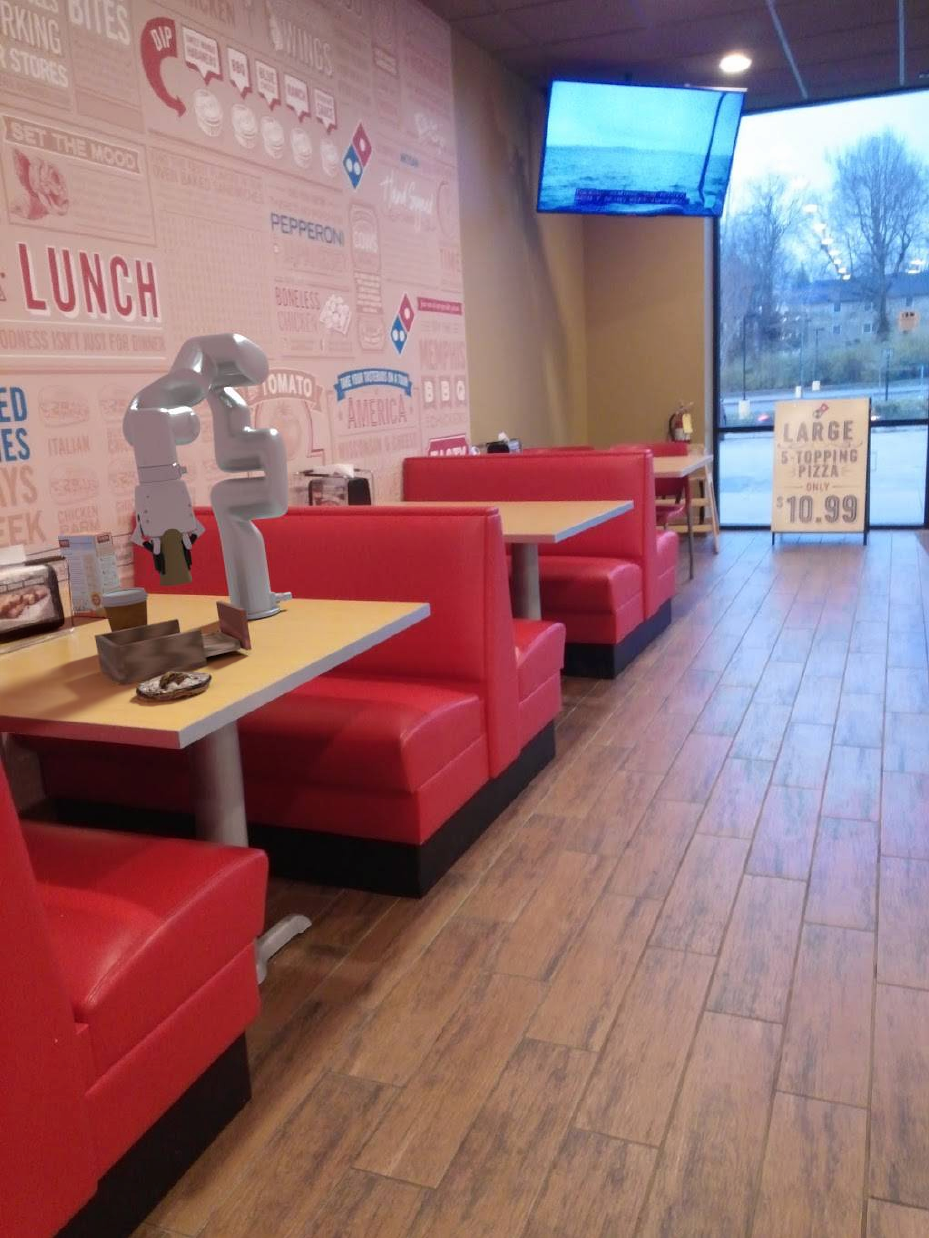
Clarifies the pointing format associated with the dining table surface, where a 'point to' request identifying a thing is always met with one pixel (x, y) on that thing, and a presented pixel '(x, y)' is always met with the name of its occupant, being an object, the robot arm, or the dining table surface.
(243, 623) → the drawer
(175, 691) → the pie
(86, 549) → the cracker box
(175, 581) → the olive green pawn
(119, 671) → the caddy
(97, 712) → the dining table surface
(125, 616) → the disposable coffee cup
